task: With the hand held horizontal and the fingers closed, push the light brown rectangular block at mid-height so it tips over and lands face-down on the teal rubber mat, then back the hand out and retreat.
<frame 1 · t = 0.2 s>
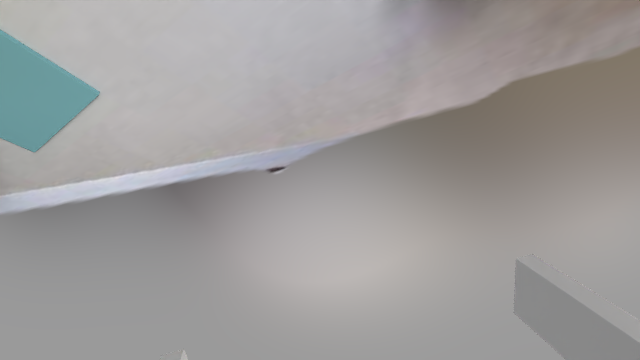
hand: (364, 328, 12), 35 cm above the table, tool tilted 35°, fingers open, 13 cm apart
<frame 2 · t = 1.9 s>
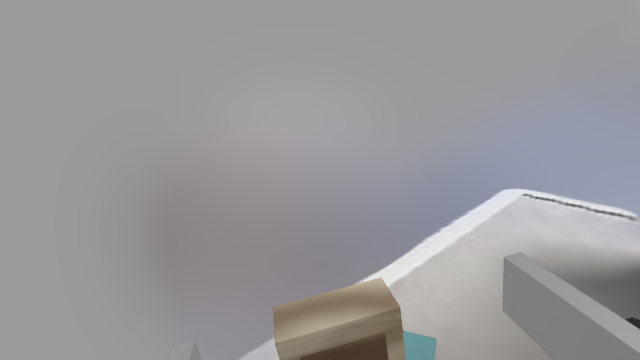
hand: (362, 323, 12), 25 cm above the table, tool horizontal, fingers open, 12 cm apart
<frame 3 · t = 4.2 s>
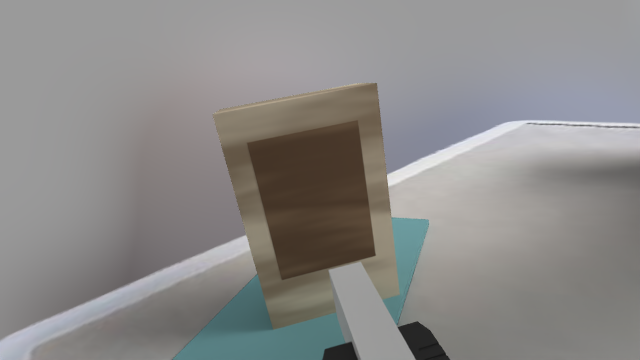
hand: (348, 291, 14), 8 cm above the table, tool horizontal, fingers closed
light brown rectangular block: (332, 295, 25), point 1 cm above the table, touching mat
mat: (322, 290, 27), on the table
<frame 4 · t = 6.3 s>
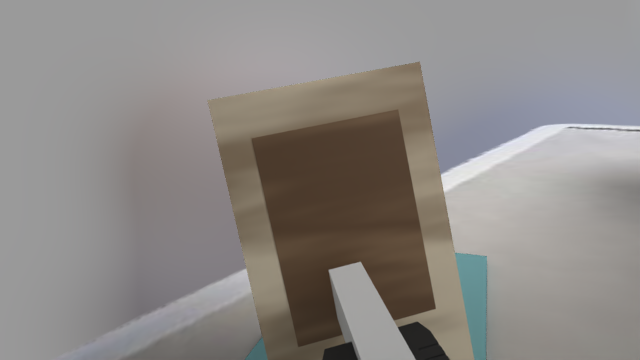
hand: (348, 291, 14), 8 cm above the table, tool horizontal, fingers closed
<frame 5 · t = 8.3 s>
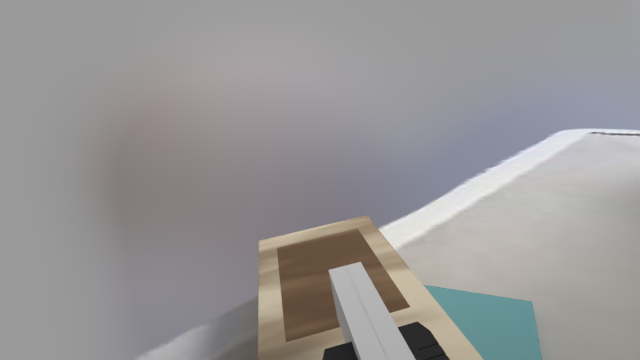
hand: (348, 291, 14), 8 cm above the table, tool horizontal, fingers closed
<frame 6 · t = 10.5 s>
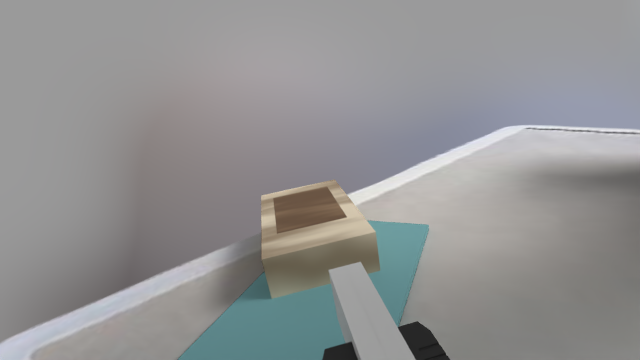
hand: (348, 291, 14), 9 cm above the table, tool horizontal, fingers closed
light brown rectangular block: (323, 265, 27), point 3 cm above the table, tilted 90°, touching mat
mat: (322, 295, 27), on the table
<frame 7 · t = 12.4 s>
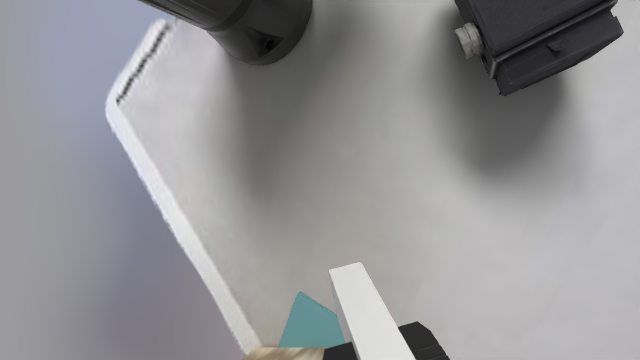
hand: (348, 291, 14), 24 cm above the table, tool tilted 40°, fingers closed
camera: (507, 22, 31), on the table
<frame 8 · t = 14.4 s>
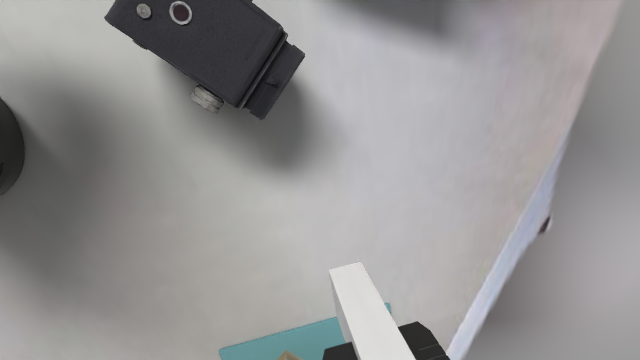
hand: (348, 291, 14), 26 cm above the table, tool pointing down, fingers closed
camera: (223, 47, 34), on the table
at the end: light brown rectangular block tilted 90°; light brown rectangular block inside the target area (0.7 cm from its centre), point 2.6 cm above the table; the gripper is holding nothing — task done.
